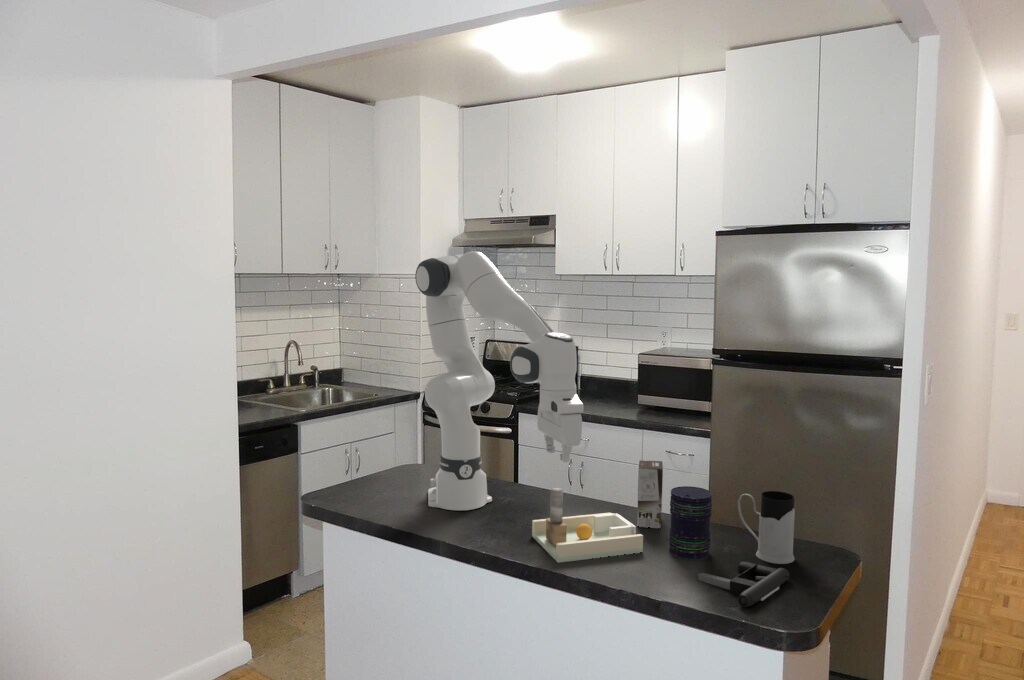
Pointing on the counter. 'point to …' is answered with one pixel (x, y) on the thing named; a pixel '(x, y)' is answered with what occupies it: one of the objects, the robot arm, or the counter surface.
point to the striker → (556, 518)
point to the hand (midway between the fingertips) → (557, 456)
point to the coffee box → (650, 494)
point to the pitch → (606, 539)
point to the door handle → (750, 582)
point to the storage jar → (690, 522)
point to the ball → (584, 531)
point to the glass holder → (774, 526)
